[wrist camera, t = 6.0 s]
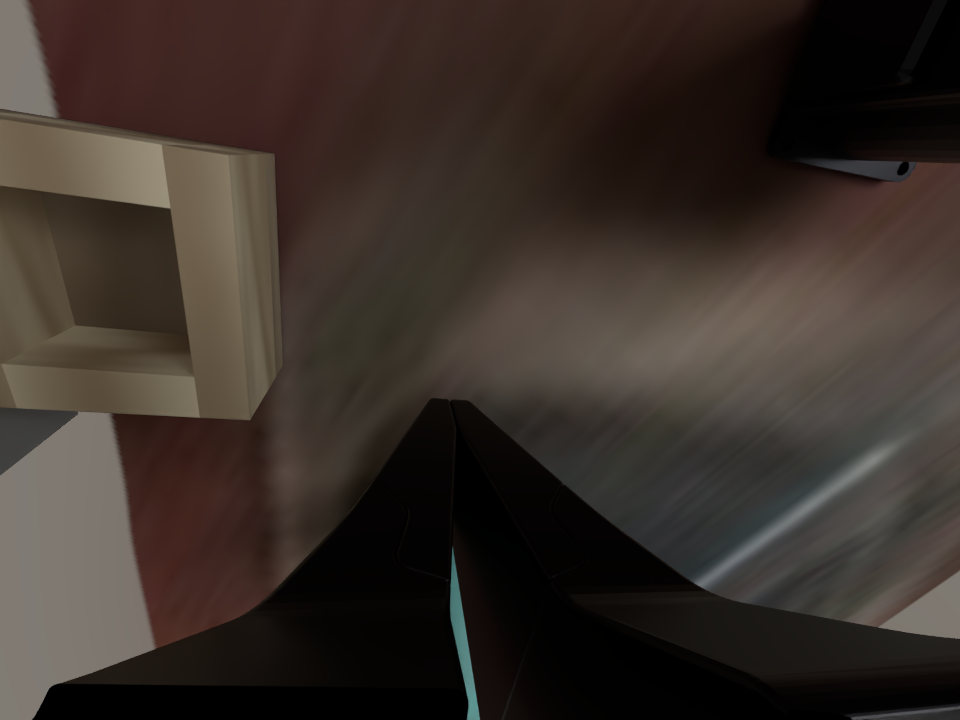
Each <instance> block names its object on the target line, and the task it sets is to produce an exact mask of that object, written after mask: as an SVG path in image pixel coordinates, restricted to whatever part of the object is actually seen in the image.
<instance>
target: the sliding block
mask: <svg viewBox="0 0 960 720" xmlns="http://www.w3.org/2000/svg"><path fill="white" fill-rule="evenodd" d="M282 366H283V354H282V329H281V305H280V280H279V255H278V231H277V206H276V182H275V157H274V154H273V153H267V152H261V151H255V150H249V149H243V148H236V147H230V146H224V145H218V144H212V143H206V142H200V141H194V140H188V139H181V138H175V137H169V136H163V135H157V134H151V133H145V132H139V131H133V130H126V129H120V128H114V127H108V126H102V125H96V124H90V123H84V122H78V121H71V120H65V119H59V118H53V117H47V116H41V115H34V114H29V113H22V112H16V111H10V110H4V109H0V407H4V408H23V409H42V410H62V411H81V412H83V411H84V412H103V413H120V414H139V415H159V416H178V417H198V418H217V419H236V420H250V419H251V418H252V416H253V414H254V413H255V411H256V409H257V408H258V406H259V404H260V403H261V401H262V399H263V398H264V396H265V394H266V393H267V391H268V389H269V388H270V386H271V385H272V383H273V381H274V380H275V378H276V376H277V375H278V373H279V371H280V370H281V368H282Z"/></svg>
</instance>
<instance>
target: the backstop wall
mask: <svg viewBox="0 0 960 720" xmlns="http://www.w3.org/2000/svg"><path fill="white" fill-rule="evenodd" d="M77 414H78V412H77V411H62V410H42V409H23V408H4V407H0V475H1V474H3V473H4V472H5V471H6V470H8V469H9V468H10V467H11V466H12V465H14V464H15V463H16V462H18V461H19V460H20V459H21V458H23V457H24V456H25V455H27V454H28V453H29V452H30V451H32V450H33V449H34V448H35V447H37V446H38V445H39V444H41V443H42V442H43V441H44V440H46V439H47V438H48V437H49V436H51V435H52V434H53V433H55V432H56V431H57V430H58V429H60V428H61V427H62V426H63V425H65V424H66V423H67V422H68V421H70V420H71V419H72V418H74V417H75V416H76V415H77Z"/></svg>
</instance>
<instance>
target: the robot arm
mask: <svg viewBox="0 0 960 720" xmlns="http://www.w3.org/2000/svg"><path fill="white" fill-rule="evenodd" d="M784 139H785V140H786V143H785V146H784V148H783V149H781V143H782V141H783V140H784ZM767 153H768V154H769V156H770V157H772V158H774V159H779V160H784V161H789V162H794V163H799V164H804V165H808V166H813V167H818V168H823V169H828V170H833V171H838V172H843V173H848V174H853V175H857V176H862V177H867V178H872V179H877V180H882V181H888V182H901V181H903V180H905V179H906V178H907V177H909V176H910V174H911V173H912V171H913V170H914V168H915V166H916V164H917V162H929V163H960V0H824V3H823V5H822V8H821V11H820V13H819V16H818V18H817V21H816V23H815V26H814V28H813V31H812V33H811V36H810V38H809V41H808V43H807V46H806V48H805V51H804V53H803V56H802V58H801V61H800V63H799V66H798V68H797V71H796V73H795V76H794V78H793V81H792V83H791V86H790V88H789V91H788V94H787V96H786V99H785V101H784V104H783V106H782V109H781V111H780V114H779V116H778V119H777V121H776V124H775V126H774V129H773V131H772V134H771V136H770V139H769V141H768V145H767ZM898 167H899V168H898ZM897 169H898V170H897ZM452 546H453V553H454V559H455V565H456V571H457V578H458V584H459V590H460V597H461V603H462V609H463V616H464V622H465V628H466V635H467V641H468V647H469V653H470V660H471V666H472V672H473V679H474V685H475V691H476V698H477V704H478V710H479V717H480V720H960V639H955V638H943V637H935V636H927V635H920V634H913V633H906V632H900V631H894V630H888V629H883V628H877V627H872V626H867V625H861V624H856V623H850V622H845V621H839V620H834V619H828V618H823V617H817V616H812V615H806V614H801V613H796V612H790V611H785V610H779V609H774V608H768V607H763V606H757V605H752V604H746V603H741V602H737V601H733V600H730V599H726V598H723V597H720V596H718V595H716V594H714V593H711V592H709V591H707V590H705V589H703V588H701V587H700V586H698V585H696V584H694V583H693V582H691V581H690V580H689V579H687V578H686V577H684V576H683V575H681V574H680V573H679V572H677V571H676V570H675V569H673V568H672V567H671V566H669V565H668V564H666V563H665V562H664V561H662V560H661V559H660V558H658V557H657V556H656V555H654V554H653V553H651V552H650V551H649V550H647V549H646V548H645V547H643V546H642V545H641V544H639V543H638V542H636V541H635V540H634V539H632V538H631V537H630V536H628V535H627V534H626V533H624V532H623V531H622V530H620V529H619V528H618V527H616V526H615V525H614V524H612V523H611V522H610V521H608V520H607V519H606V518H605V517H603V516H602V515H601V514H599V513H598V512H597V511H596V510H594V509H593V508H592V507H591V506H590V505H588V504H587V503H586V502H585V501H584V500H582V499H581V498H580V497H579V496H578V495H576V494H575V493H574V492H573V491H572V490H571V489H570V488H568V487H567V486H566V485H563V483H562V482H561V481H560V480H559V479H558V478H557V477H556V476H555V475H553V474H552V473H551V472H550V471H549V470H548V469H547V468H545V467H544V466H543V465H542V464H541V463H540V462H539V461H537V460H536V459H535V458H534V457H533V456H532V455H531V454H529V453H528V452H527V451H526V450H525V449H524V448H523V447H521V446H520V445H519V444H518V443H517V442H516V441H515V440H513V439H512V438H511V437H510V436H509V435H508V434H507V433H505V432H504V431H503V430H502V429H501V428H500V427H499V426H497V425H496V424H495V423H494V422H493V421H492V420H491V419H489V418H488V417H487V416H486V415H485V414H484V413H483V412H481V411H480V410H479V409H478V408H477V407H476V406H475V405H473V404H472V403H471V402H470V401H468V400H451V401H449V400H448V399H438V398H431V399H430V400H429V401H428V402H427V404H426V405H425V407H424V408H423V410H422V411H421V412H420V414H419V415H418V417H417V418H416V419H415V421H414V422H413V424H412V425H411V427H410V428H409V429H408V431H407V432H406V434H405V435H404V437H403V438H402V439H401V441H400V442H399V444H398V445H397V446H396V448H395V449H394V451H393V452H392V454H391V455H390V456H389V458H388V459H387V461H386V462H385V463H384V465H383V466H382V468H381V469H380V471H379V472H378V473H377V475H376V476H375V478H374V480H373V481H372V482H371V483H370V484H369V486H368V487H367V489H366V490H365V492H364V493H363V494H362V496H361V497H360V498H359V499H358V501H357V502H356V503H355V505H354V506H353V507H352V509H351V510H350V511H349V512H348V513H347V514H346V516H345V517H344V518H343V519H342V520H341V521H340V522H339V523H338V524H337V525H336V527H335V528H334V529H333V530H332V531H331V532H330V533H329V534H328V535H327V536H326V537H325V538H324V539H323V540H322V541H321V542H320V544H319V545H318V546H317V547H316V548H315V549H314V550H313V551H312V552H311V553H310V554H309V555H308V556H307V557H306V558H305V559H304V560H303V561H302V562H301V563H300V564H299V565H298V566H297V567H296V568H295V570H294V571H293V572H292V573H291V574H290V575H289V576H288V577H287V578H286V579H285V580H284V581H283V582H282V583H281V584H280V585H279V586H278V587H277V588H276V589H275V590H274V591H273V592H272V593H271V594H270V595H269V596H268V597H267V598H265V599H264V600H263V601H262V602H261V603H260V604H258V605H257V606H256V607H254V608H253V609H251V610H250V611H249V612H247V613H245V614H244V615H242V616H240V617H239V618H236V619H234V620H232V621H229V622H227V623H224V624H221V625H219V626H216V627H213V628H211V629H208V630H205V631H203V632H200V633H197V634H195V635H192V636H189V637H187V638H184V639H181V640H179V641H176V642H173V643H171V644H168V645H165V646H163V647H160V648H157V649H155V650H152V651H149V652H147V653H144V654H141V655H139V656H136V657H134V658H131V659H128V660H125V661H123V662H120V663H117V664H115V665H112V666H109V667H107V668H104V669H102V670H99V671H96V672H93V673H91V674H88V675H85V676H81V677H78V678H76V679H72V680H70V681H67V682H63V683H59V684H56V685H54V686H52V687H51V688H49V690H48V692H47V694H46V696H45V698H44V700H43V703H42V704H41V706H40V708H39V710H38V711H37V714H36V715H35V717H34V718H33V719H32V720H467V716H468V709H469V701H468V696H467V692H466V687H465V682H464V678H463V673H462V668H461V664H460V659H459V654H458V650H457V645H456V640H455V636H454V631H453V626H452V622H451V612H450V595H451V587H450V586H451V570H452Z"/></svg>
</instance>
